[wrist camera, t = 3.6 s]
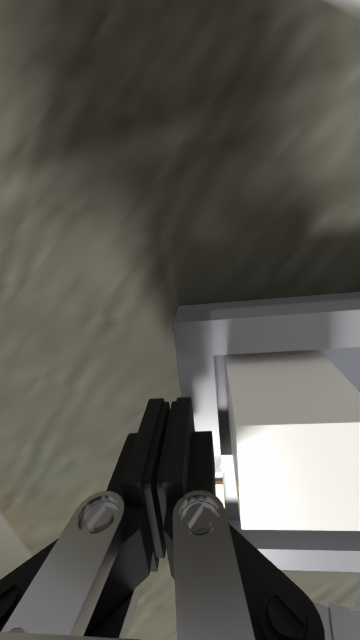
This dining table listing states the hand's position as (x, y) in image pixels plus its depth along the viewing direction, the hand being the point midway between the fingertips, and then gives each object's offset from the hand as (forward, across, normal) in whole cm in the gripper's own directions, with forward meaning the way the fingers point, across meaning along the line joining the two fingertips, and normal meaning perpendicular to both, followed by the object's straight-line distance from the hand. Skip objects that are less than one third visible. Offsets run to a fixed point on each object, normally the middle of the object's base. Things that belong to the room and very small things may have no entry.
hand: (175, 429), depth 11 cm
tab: (+3, -4, 0) cm, 5 cm away
